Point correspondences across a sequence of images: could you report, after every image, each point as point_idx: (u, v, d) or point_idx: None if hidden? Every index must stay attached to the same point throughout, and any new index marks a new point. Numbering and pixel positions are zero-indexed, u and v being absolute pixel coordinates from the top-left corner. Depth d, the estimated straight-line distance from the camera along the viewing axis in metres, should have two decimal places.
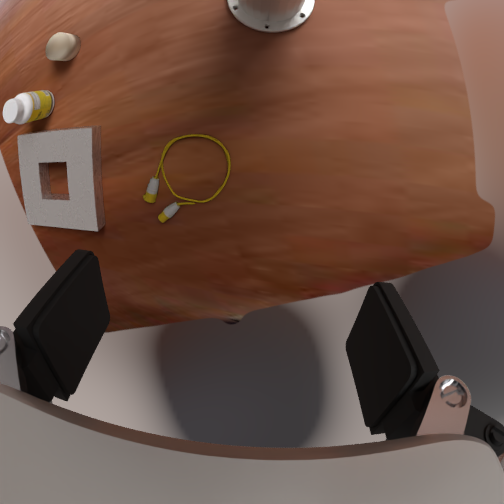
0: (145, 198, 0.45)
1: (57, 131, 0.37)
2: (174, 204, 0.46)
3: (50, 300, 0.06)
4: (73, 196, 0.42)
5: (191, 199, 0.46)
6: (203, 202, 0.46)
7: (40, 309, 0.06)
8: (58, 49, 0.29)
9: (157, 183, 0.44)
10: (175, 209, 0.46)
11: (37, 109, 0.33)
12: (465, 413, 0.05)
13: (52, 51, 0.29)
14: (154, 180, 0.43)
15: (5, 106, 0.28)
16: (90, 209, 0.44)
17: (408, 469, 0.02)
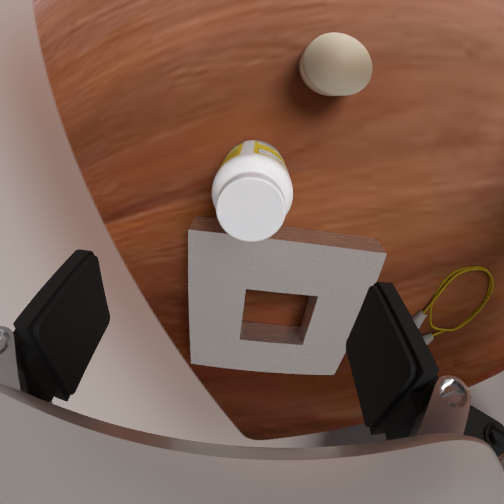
0: None
1: (311, 245, 0.25)
2: (431, 337, 0.34)
3: (50, 300, 0.06)
4: (312, 340, 0.31)
5: (444, 329, 0.34)
6: (453, 330, 0.34)
7: (40, 310, 0.06)
8: (347, 75, 0.17)
9: (424, 318, 0.32)
10: None
11: None
12: (465, 413, 0.05)
13: (328, 71, 0.17)
14: (424, 316, 0.32)
15: (231, 192, 0.16)
16: (335, 355, 0.32)
17: (408, 469, 0.02)
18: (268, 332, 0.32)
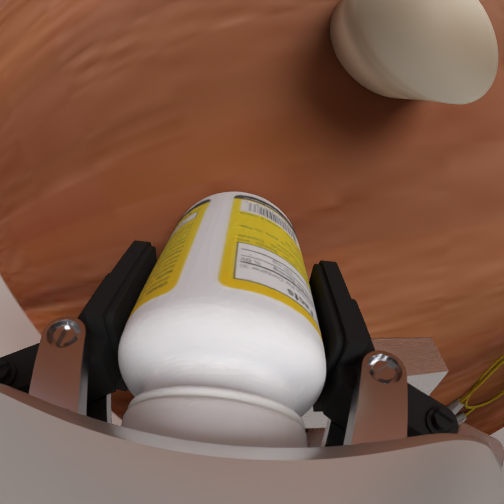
0: None
1: None
2: (463, 418, 0.22)
3: (120, 288, 0.07)
4: None
5: (479, 405, 0.22)
6: (488, 403, 0.22)
7: (112, 297, 0.07)
8: (457, 56, 0.05)
9: None
10: None
11: None
12: (403, 386, 0.06)
13: (418, 37, 0.05)
14: (461, 406, 0.20)
15: None
16: None
17: (408, 469, 0.02)
18: None
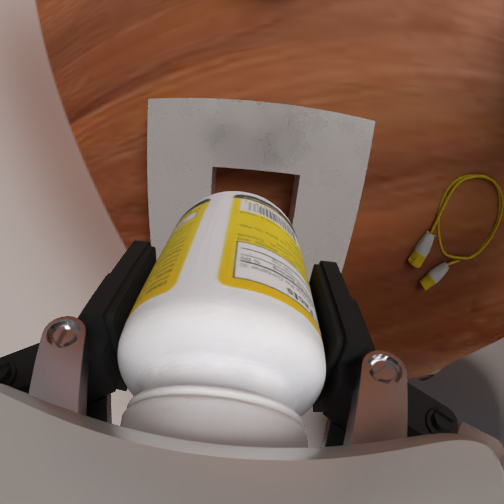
0: (414, 263, 0.29)
1: (284, 106, 0.20)
2: (445, 266, 0.29)
3: (120, 288, 0.07)
4: (299, 244, 0.26)
5: (459, 256, 0.29)
6: None
7: (112, 297, 0.07)
8: None
9: (432, 240, 0.28)
10: (445, 272, 0.29)
11: None
12: (403, 386, 0.06)
13: None
14: (432, 237, 0.27)
15: None
16: None
17: (408, 469, 0.02)
18: None
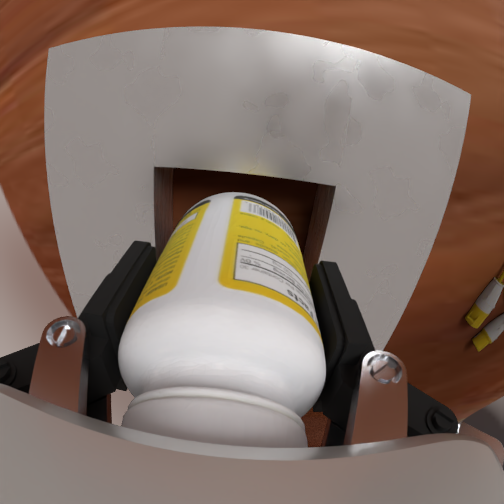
0: (474, 323, 0.17)
1: (308, 41, 0.08)
2: None
3: (120, 288, 0.07)
4: None
5: None
6: None
7: (112, 297, 0.07)
8: None
9: None
10: None
11: None
12: (403, 386, 0.06)
13: None
14: (501, 288, 0.16)
15: None
16: None
17: (408, 469, 0.02)
18: None
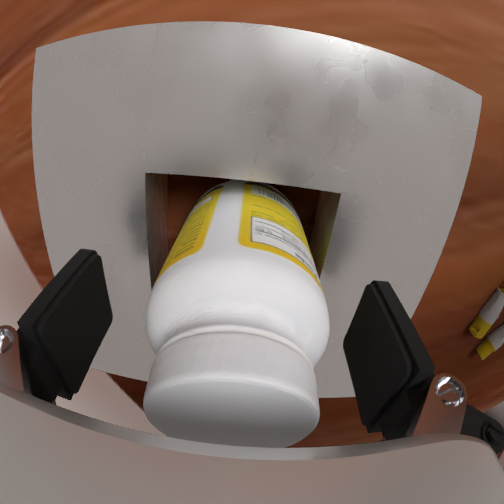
0: (478, 334, 0.17)
1: (311, 36, 0.07)
2: None
3: (54, 299, 0.06)
4: None
5: None
6: None
7: (44, 308, 0.06)
8: None
9: None
10: None
11: None
12: (462, 412, 0.05)
13: None
14: None
15: (172, 398, 0.05)
16: None
17: (408, 469, 0.02)
18: None
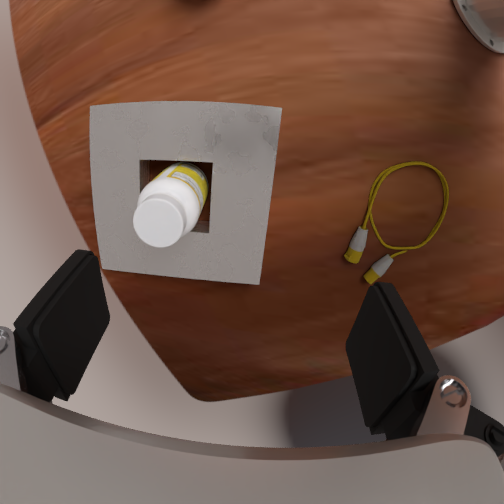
0: (350, 259, 0.32)
1: (196, 103, 0.23)
2: (388, 258, 0.32)
3: (50, 300, 0.06)
4: (219, 226, 0.28)
5: (405, 247, 0.32)
6: None
7: (40, 310, 0.06)
8: None
9: (366, 235, 0.31)
10: (389, 264, 0.32)
11: None
12: (465, 414, 0.05)
13: None
14: (364, 232, 0.31)
15: (141, 210, 0.20)
16: (253, 250, 0.29)
17: (408, 469, 0.02)
18: None
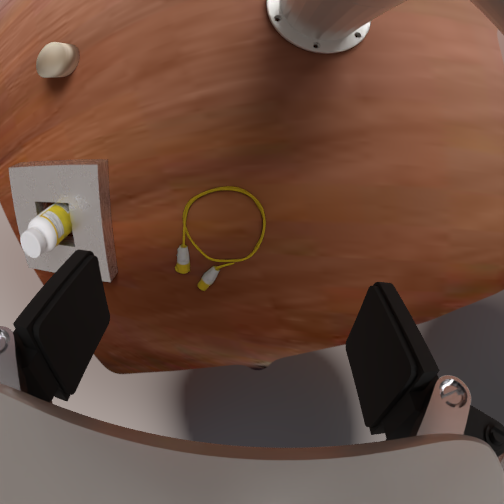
0: (178, 270, 0.41)
1: (55, 166, 0.32)
2: (212, 270, 0.41)
3: (50, 300, 0.06)
4: (79, 243, 0.37)
5: (230, 260, 0.41)
6: None
7: (40, 309, 0.06)
8: (52, 64, 0.24)
9: (187, 251, 0.40)
10: (215, 275, 0.42)
11: (61, 235, 0.34)
12: (465, 413, 0.05)
13: (44, 66, 0.24)
14: (182, 249, 0.40)
15: (22, 238, 0.29)
16: (100, 259, 0.39)
17: (408, 469, 0.02)
18: None
